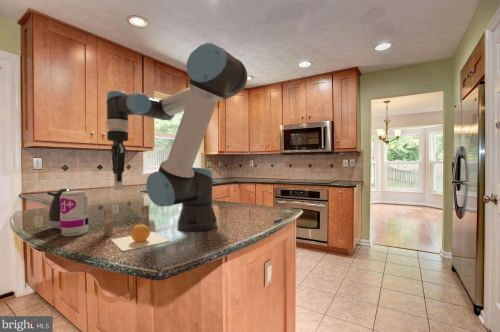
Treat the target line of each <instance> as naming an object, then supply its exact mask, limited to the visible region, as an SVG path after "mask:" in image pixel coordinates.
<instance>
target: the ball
mask: <svg viewBox="0 0 500 332" xmlns="http://www.w3.org/2000/svg"><path fill="white" fill-rule="evenodd" d="M130 232H131V233H130V236H131V237H132V239H133V240H134V241H136V242H143V241H145V240H146V239H147V238H148V237H149V235H150V232H151V231H150V227H149V228H148V227H147V226H146V225H143V224H142V223H140V224H136V225H135V226H134V227H133V228H132V230H131V231H130Z"/></svg>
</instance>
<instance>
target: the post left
mask: <svg viewBox="0 0 500 332" xmlns="http://www.w3.org/2000/svg"><path fill="white" fill-rule="evenodd" d="M113 220H114V219H113V208H104V209H103V231H104V232H103V235H104V237H110V236H113V235H114V233H113V230H114V229H113V228H114V227H113V226H114V225H113V223H114V222H113Z"/></svg>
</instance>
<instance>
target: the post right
mask: <svg viewBox="0 0 500 332" xmlns="http://www.w3.org/2000/svg"><path fill="white" fill-rule="evenodd" d="M141 224H143V225H146V226H147V227H148V228H149V229H150V204H142V205H141Z"/></svg>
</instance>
